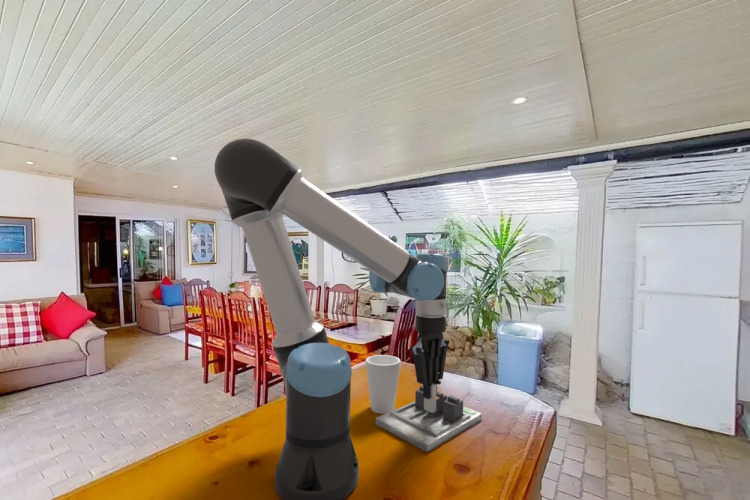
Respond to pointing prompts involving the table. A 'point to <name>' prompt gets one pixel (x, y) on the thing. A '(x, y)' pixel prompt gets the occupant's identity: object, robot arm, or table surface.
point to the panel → (425, 425)
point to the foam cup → (382, 382)
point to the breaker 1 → (419, 398)
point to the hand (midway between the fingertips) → (429, 410)
